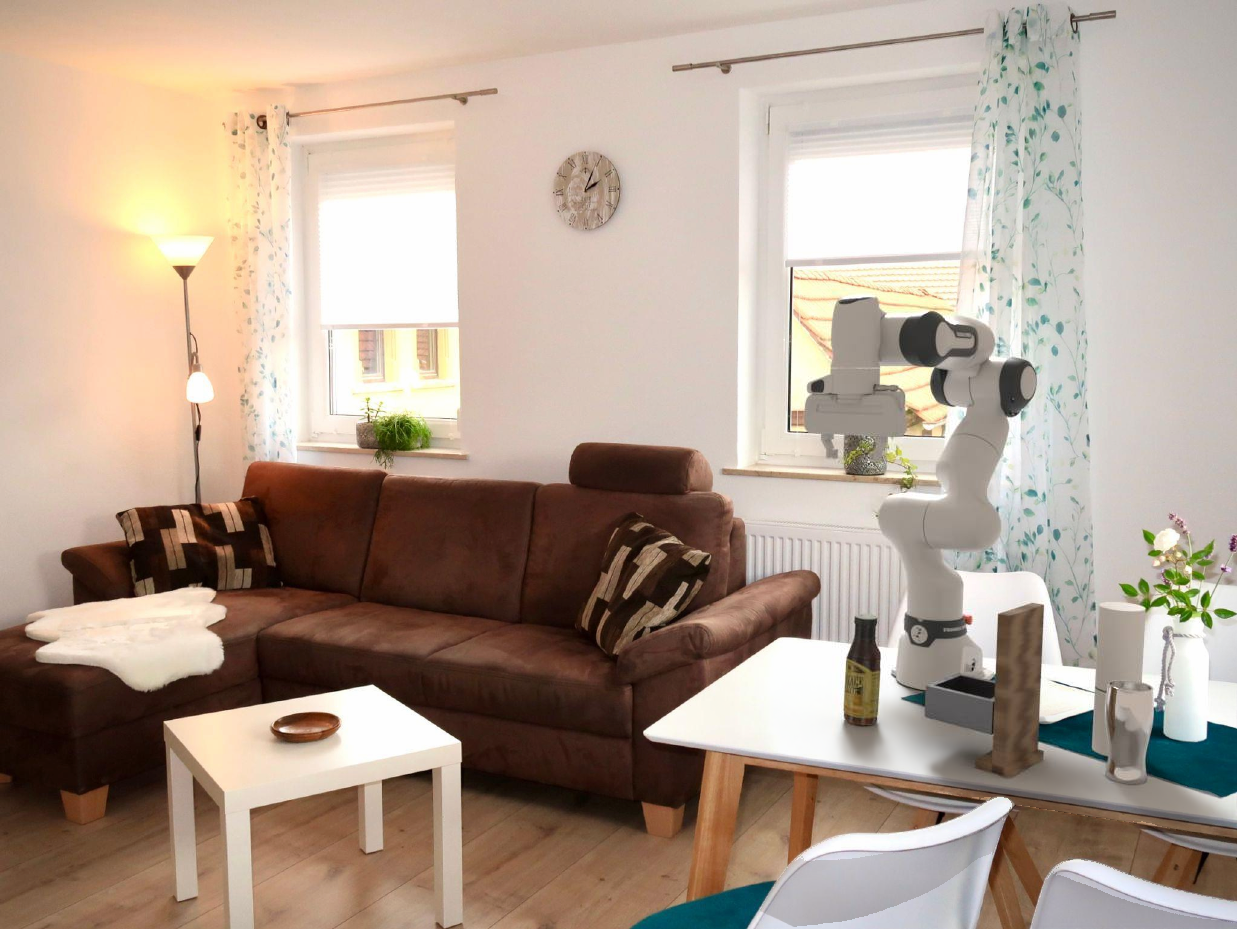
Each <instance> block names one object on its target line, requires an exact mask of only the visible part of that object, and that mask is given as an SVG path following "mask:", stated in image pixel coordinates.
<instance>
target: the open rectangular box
mask: <svg viewBox="0 0 1237 929" xmlns="http://www.w3.org/2000/svg"><path fill="white" fill-rule="evenodd" d="M924 694H925V696H924V718H926V719H930V720H933V721H937V722H941V723H944V724H948V725H952V726H955V727H960V728H962V729H963V728H964V729H967V730H971V731H974V732H978V733H983V734H987V735H989V736H993V725H994V700H995V680H992V679H990V680H987V679H983V678H979V677H974V676H970V675H965V674H961V673H957V674H955V675H952V676H949V677H947V678H944V679H941V680H939V681H936V682H934V683H931V684H928V685H926V690H925V693H924Z"/></svg>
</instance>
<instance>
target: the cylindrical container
mask: <svg viewBox="0 0 1237 929" xmlns="http://www.w3.org/2000/svg"><path fill="white" fill-rule="evenodd" d="M1146 611H1147V610H1146V607H1144V606H1143V605H1140V604H1135V603H1130V602H1123V601H1104V602H1100V603H1099V604H1098V617H1097V634H1096V635H1097V636H1096V637H1097V638H1096V656H1095V657H1096V659H1095V674H1094V675H1095V677H1094V700H1093V720H1092V722H1093V724H1092V742H1091V749H1092V751H1094V752H1095V753H1097V754H1099V755H1101V756H1106V757H1108V754H1109V747H1108V739H1107V732H1106V724H1105V701H1106V693H1107V687H1108V682H1109V681H1112V680H1132V681H1138V682H1142V683H1143V669H1144V668H1143V666H1144V665H1143V664H1144V648H1145V646H1144V645H1145V626H1146Z"/></svg>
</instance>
